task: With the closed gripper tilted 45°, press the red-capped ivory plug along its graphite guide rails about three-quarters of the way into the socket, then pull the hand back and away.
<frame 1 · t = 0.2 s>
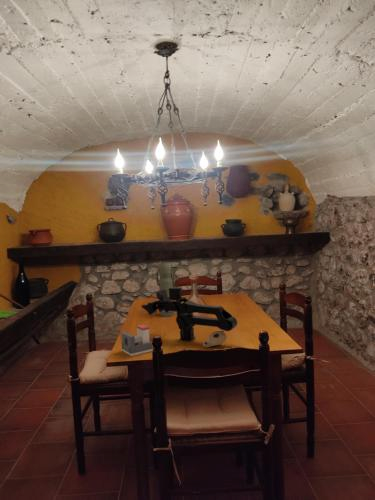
hand: (146, 304, 228), 17 cm above the table, tool horizontal, fingers open, 9 cm apart
socket: (138, 340, 201), on the board, point 5 cm above the table
board: (137, 350, 201), on the table
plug: (137, 337, 201), point 6 cm above the table, slide at 0.0 cm
pottery oil lamp: (214, 346, 204), on the table
thermos: (167, 315, 272), on the table
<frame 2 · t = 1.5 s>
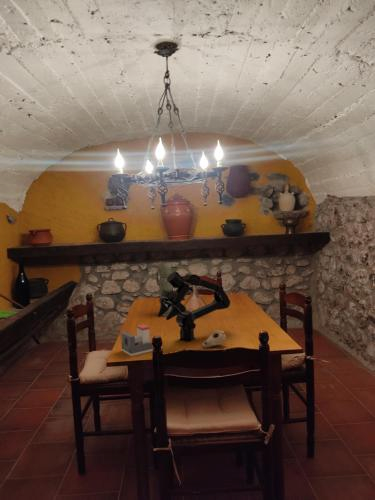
hand: (162, 318, 208), 14 cm above the table, tool tilted 45°, fingers open, 8 cm apart
nothing on the table moved.
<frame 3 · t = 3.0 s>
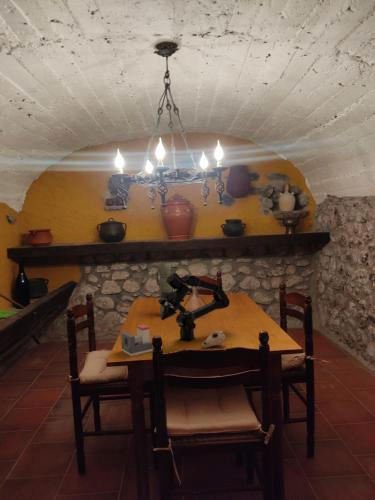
hand: (161, 319, 208), 13 cm above the table, tool tilted 45°, fingers closed
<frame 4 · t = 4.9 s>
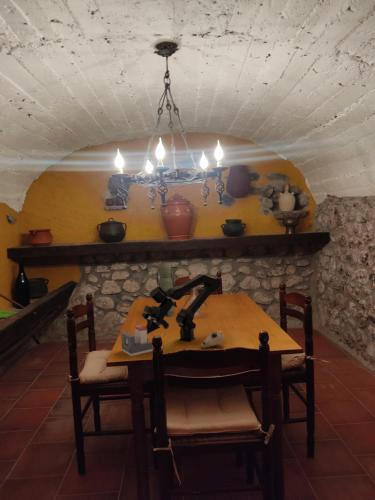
hand: (144, 334, 203), 7 cm above the table, tool tilted 45°, fingers closed, pressing on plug
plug: (135, 338, 200), point 6 cm above the table, slide at 1.2 cm, touching gripper
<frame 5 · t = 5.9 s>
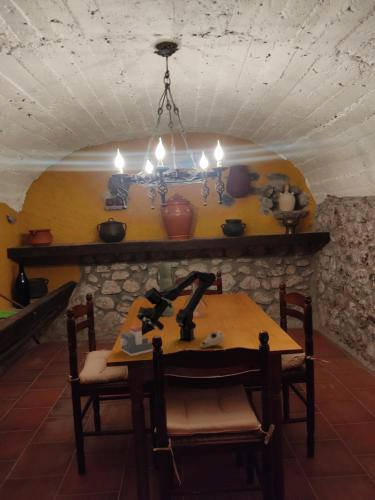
hand: (139, 335, 201), 7 cm above the table, tool tilted 45°, fingers closed, pressing on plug
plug: (130, 339, 199), point 6 cm above the table, slide at 4.0 cm, touching gripper
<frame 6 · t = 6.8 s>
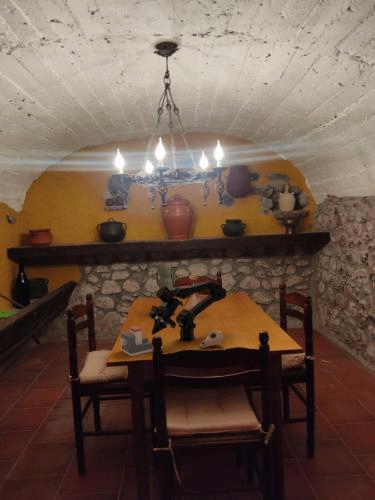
hand: (152, 333, 205), 7 cm above the table, tool tilted 45°, fingers closed
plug: (130, 339, 199), point 6 cm above the table, slide at 4.0 cm
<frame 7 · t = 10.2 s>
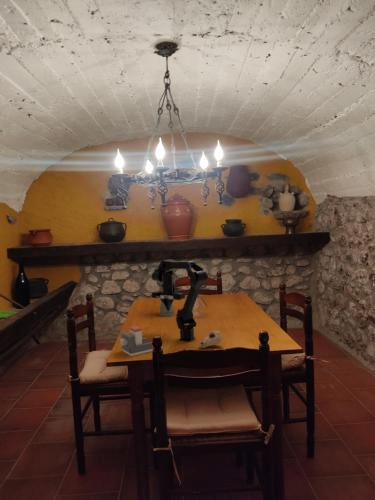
hand: (168, 310, 227), 13 cm above the table, tool pointing down, fingers closed
at the end: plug slide at 4.0 cm; pottery oil lamp moved 2.3 cm from its start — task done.
